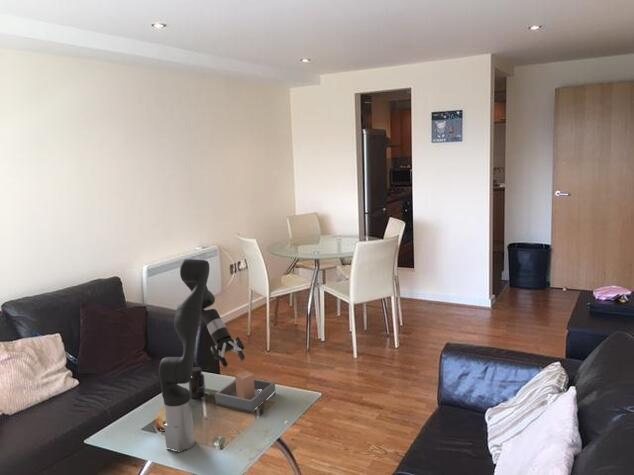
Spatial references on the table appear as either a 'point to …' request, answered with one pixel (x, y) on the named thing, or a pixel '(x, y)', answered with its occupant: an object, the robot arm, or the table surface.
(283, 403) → the table surface
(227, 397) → the charcoal bin
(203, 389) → the supplement bottle
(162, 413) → the slice of bread
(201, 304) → the robot arm
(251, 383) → the salmon pink block
